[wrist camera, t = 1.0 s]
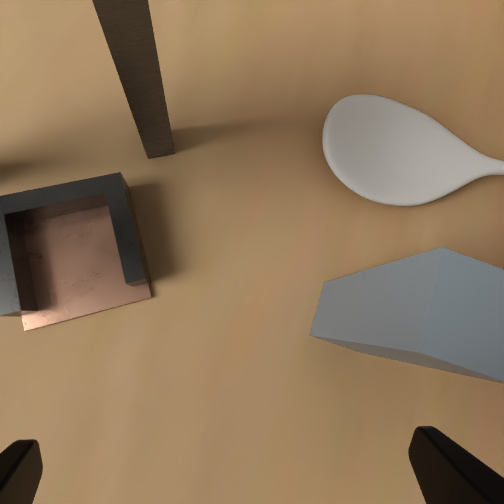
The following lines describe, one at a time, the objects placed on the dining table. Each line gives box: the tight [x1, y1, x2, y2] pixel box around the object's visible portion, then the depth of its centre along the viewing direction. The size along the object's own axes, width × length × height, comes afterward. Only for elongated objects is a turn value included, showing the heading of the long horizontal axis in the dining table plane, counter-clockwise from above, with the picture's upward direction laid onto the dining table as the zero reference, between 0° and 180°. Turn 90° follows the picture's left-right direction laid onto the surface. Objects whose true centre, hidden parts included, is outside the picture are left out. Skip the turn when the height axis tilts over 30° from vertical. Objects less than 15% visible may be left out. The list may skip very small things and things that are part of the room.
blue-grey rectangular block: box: [310, 247, 504, 383], centre depth 19 cm, size 4×4×13 cm
